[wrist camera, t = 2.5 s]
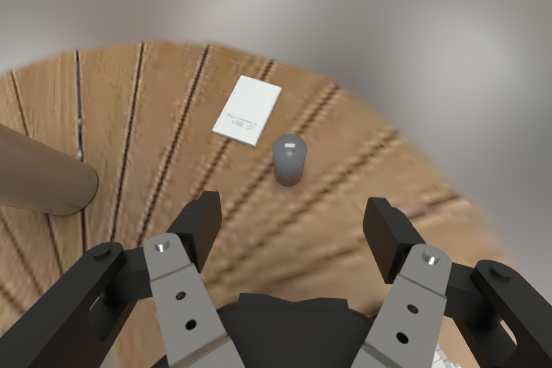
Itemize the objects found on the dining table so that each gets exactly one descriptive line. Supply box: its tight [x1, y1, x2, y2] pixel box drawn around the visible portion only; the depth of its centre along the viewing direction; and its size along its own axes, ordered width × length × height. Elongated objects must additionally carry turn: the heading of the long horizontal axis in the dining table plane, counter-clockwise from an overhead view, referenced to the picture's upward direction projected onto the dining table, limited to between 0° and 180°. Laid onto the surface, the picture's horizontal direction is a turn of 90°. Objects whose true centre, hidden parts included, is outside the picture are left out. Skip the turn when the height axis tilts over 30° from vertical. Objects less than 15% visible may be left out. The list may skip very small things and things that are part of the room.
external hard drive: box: [212, 76, 282, 148], centre depth 42 cm, size 2×8×12 cm
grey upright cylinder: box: [273, 134, 307, 186], centre depth 34 cm, size 4×4×10 cm
